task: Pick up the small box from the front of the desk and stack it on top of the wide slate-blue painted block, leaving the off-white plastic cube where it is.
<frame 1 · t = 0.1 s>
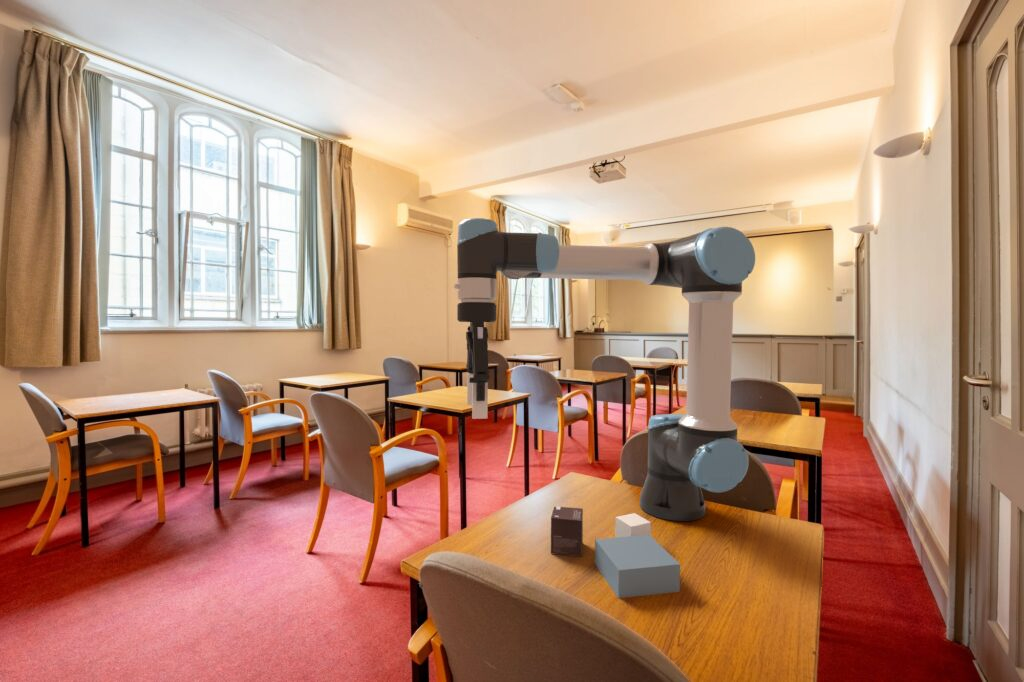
hand: (476, 411, 91), 28 cm above the table, tool pointing down, fingers open, 13 cm apart
box: (566, 549, 94), on the table
white cube: (632, 543, 96), on the table
slate block: (634, 578, 83), on the table
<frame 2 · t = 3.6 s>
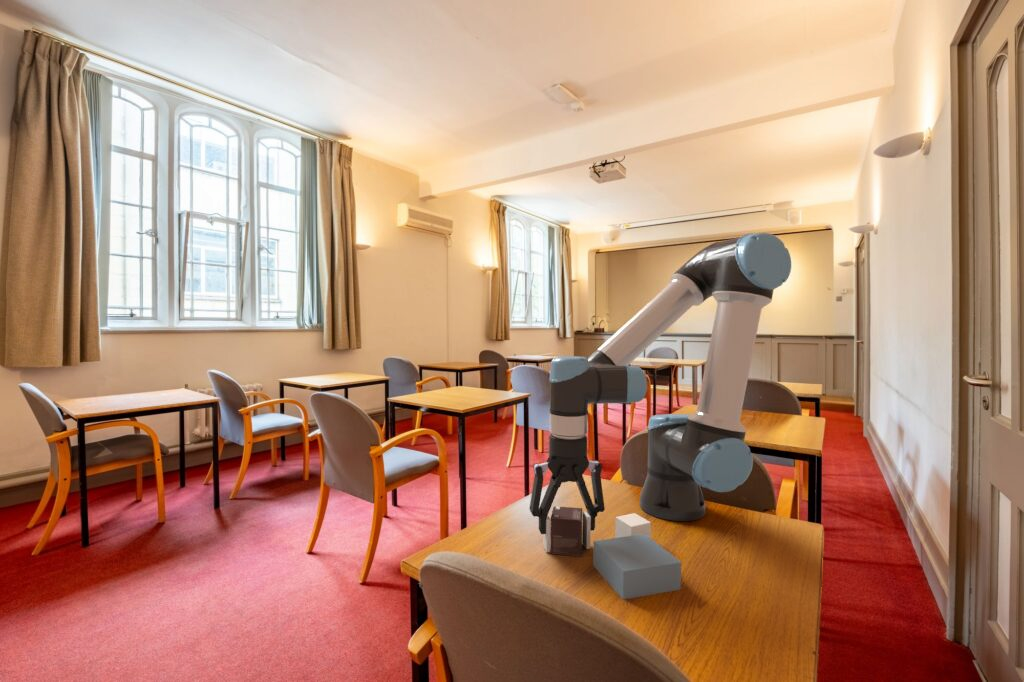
hand: (566, 547, 94), 0 cm above the table, tool pointing down, fingers closed on box, 7 cm apart
box: (566, 549, 94), on the table, touching gripper
everything else where it was.
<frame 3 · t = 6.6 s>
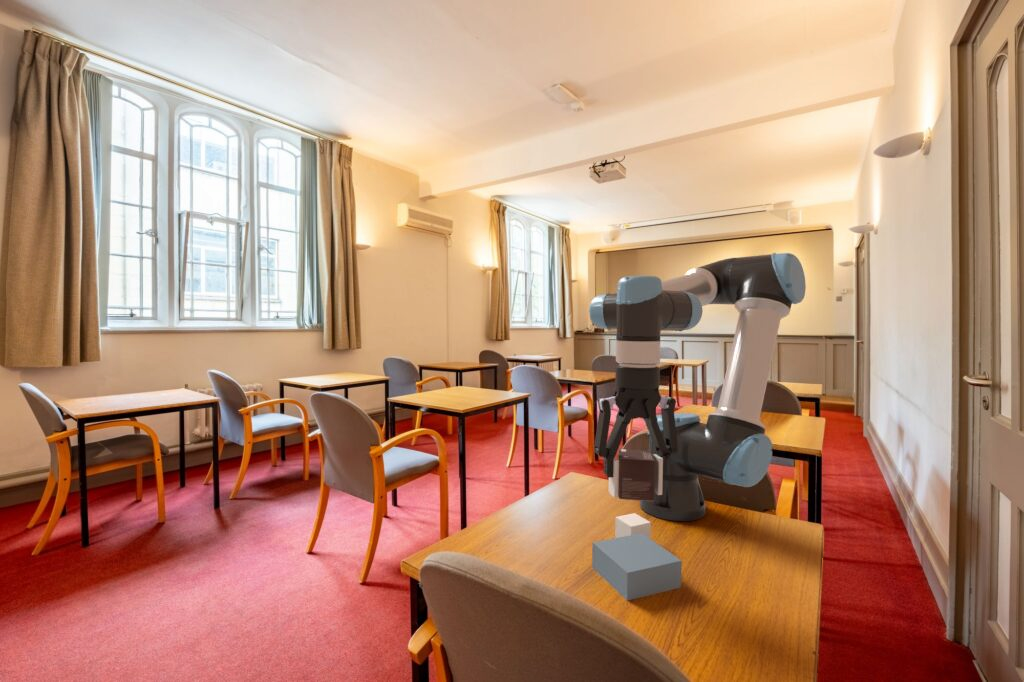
hand: (635, 493, 83), 15 cm above the table, tool pointing down, fingers closed on box, 7 cm apart
box: (635, 496, 83), point 15 cm above the table, touching gripper
everything else where it was.
when the fingers open (7 cm above the table, at t = 8.8 s): box drops 2 cm, resting on slate block.
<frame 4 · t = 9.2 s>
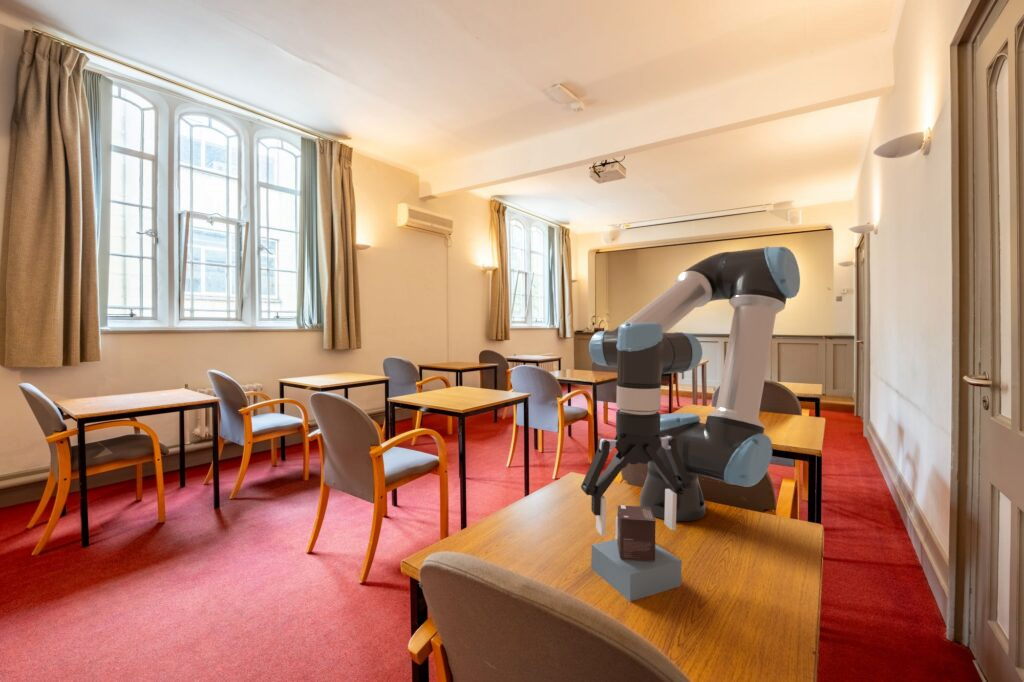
hand: (635, 529, 83), 9 cm above the table, tool pointing down, fingers open, 12 cm apart
box: (635, 553, 83), point 4 cm above the table, touching slate block
slate block: (634, 579, 83), on the table, touching box
everything else where it was.
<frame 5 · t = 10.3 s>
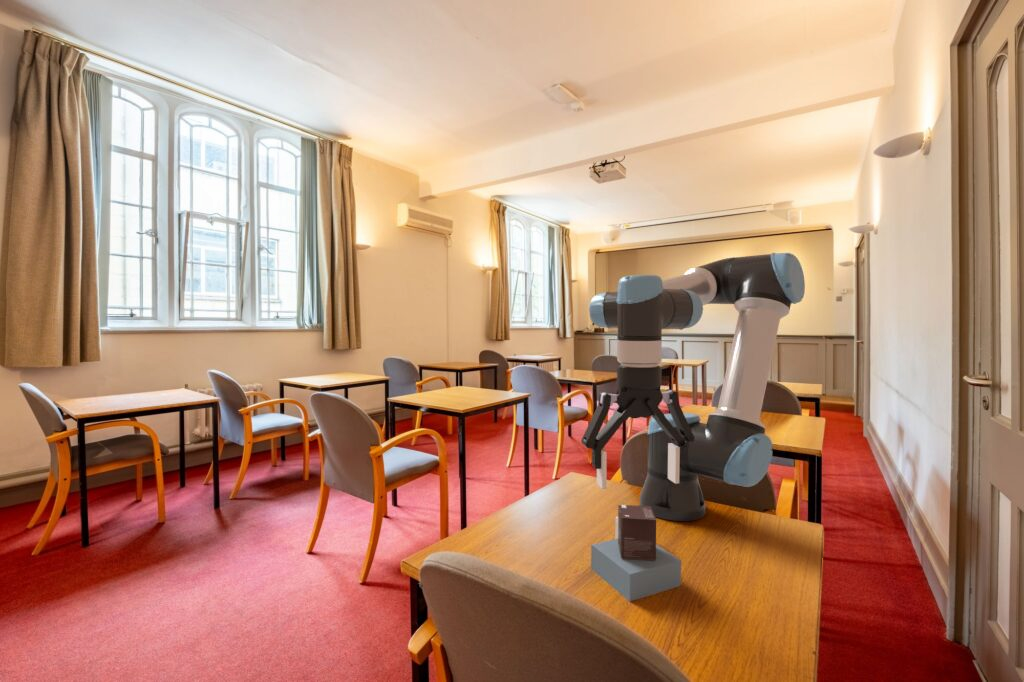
hand: (637, 483, 83), 17 cm above the table, tool pointing down, fingers open, 13 cm apart
box: (636, 553, 83), point 4 cm above the table
slate block: (634, 579, 83), on the table
everything else where it was.
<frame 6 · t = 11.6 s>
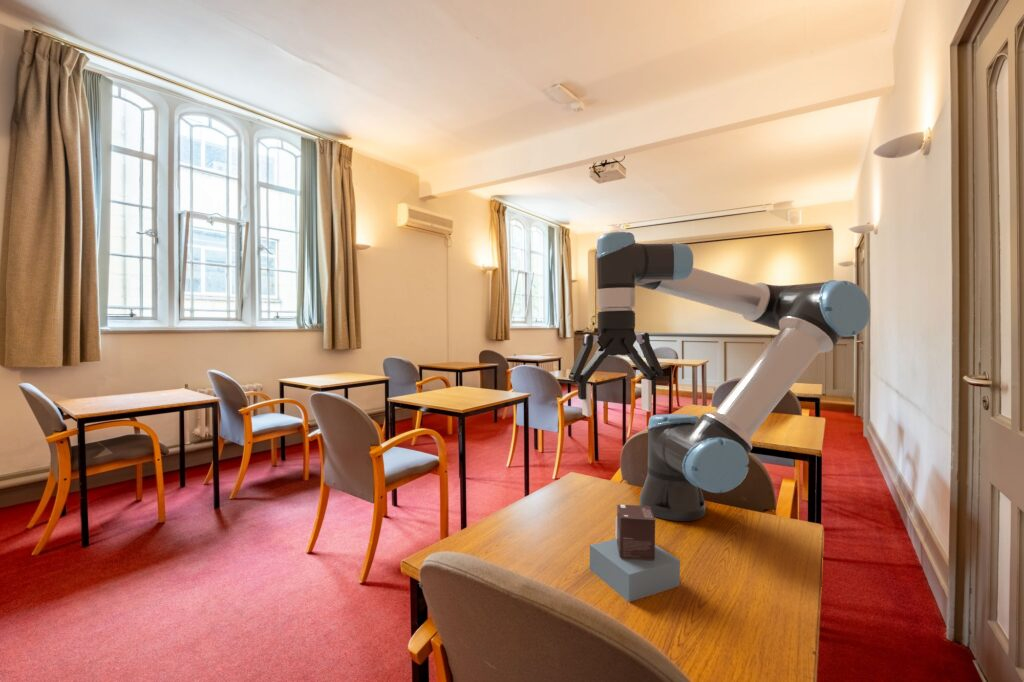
hand: (617, 413, 97), 27 cm above the table, tool pointing down, fingers open, 13 cm apart
box: (634, 552, 83), point 4 cm above the table, touching slate block
slate block: (633, 579, 83), on the table, touching box
everything else where it was.
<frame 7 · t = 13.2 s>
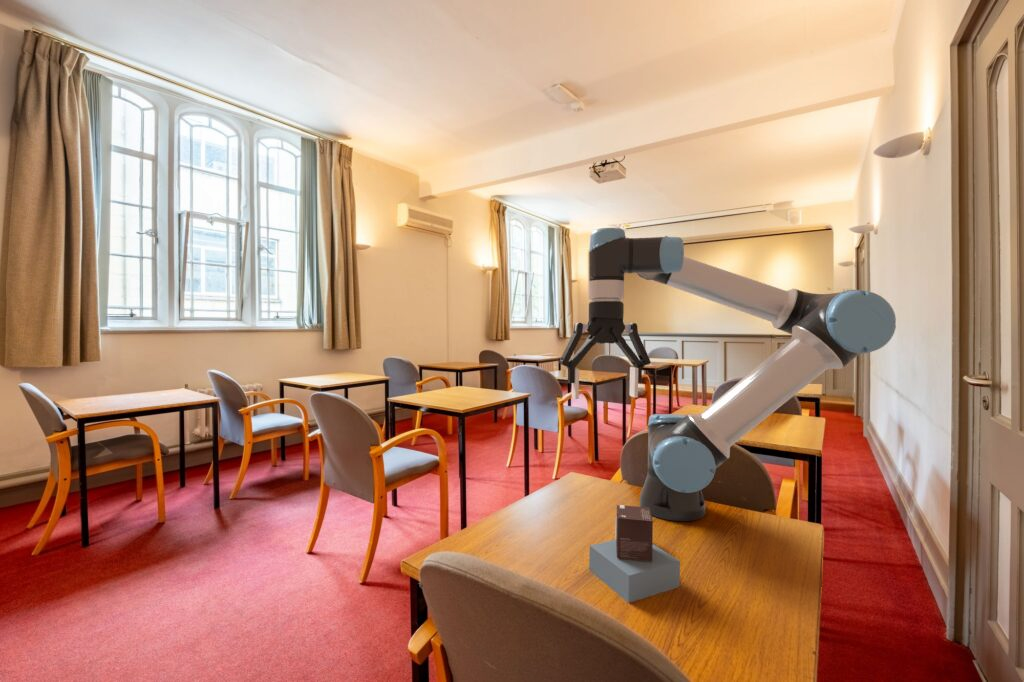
hand: (604, 397, 103), 29 cm above the table, tool pointing down, fingers open, 13 cm apart
nothing on the table moved.
at the end: box 0.1 cm off-centre on the slate block, point 4.8 cm above the slate block's base; box tilted 0°; white cube moved 0.1 cm from its start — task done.
